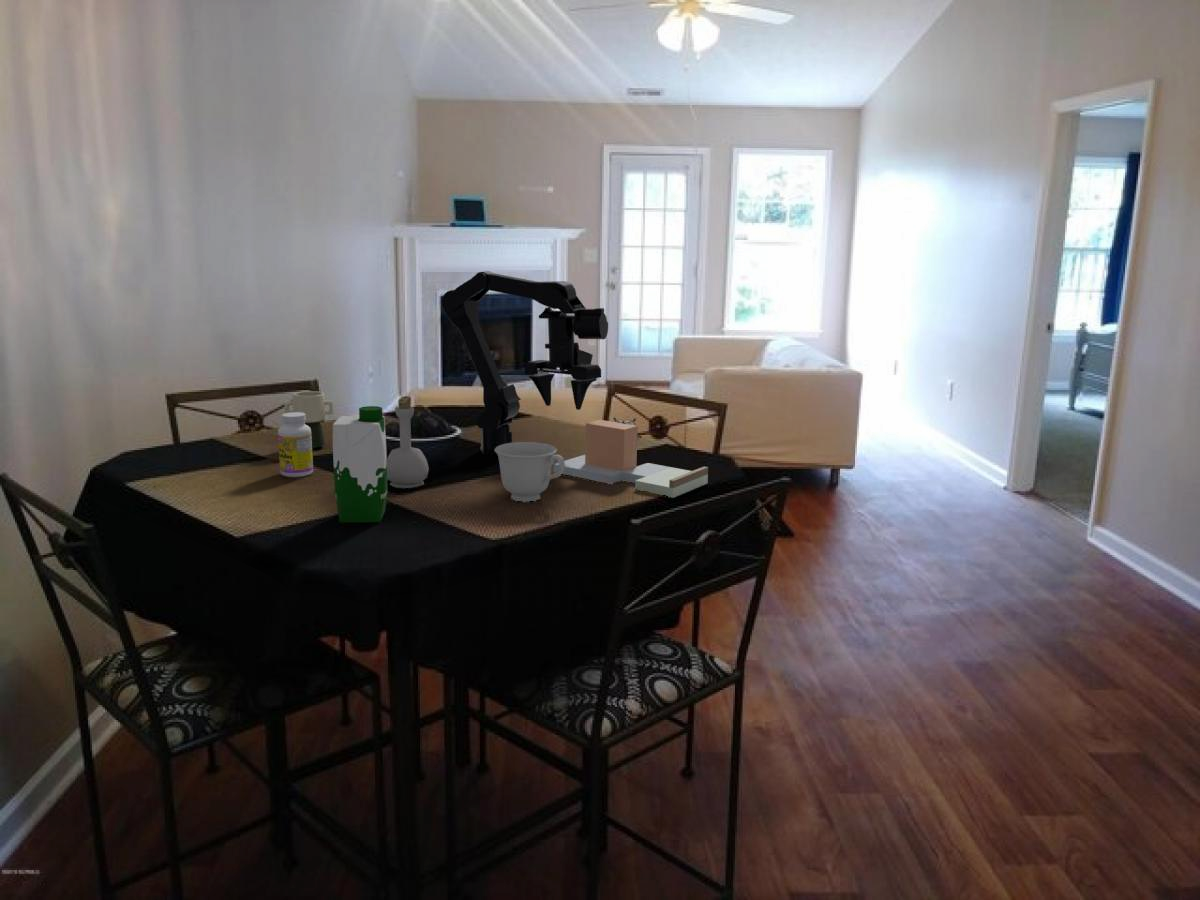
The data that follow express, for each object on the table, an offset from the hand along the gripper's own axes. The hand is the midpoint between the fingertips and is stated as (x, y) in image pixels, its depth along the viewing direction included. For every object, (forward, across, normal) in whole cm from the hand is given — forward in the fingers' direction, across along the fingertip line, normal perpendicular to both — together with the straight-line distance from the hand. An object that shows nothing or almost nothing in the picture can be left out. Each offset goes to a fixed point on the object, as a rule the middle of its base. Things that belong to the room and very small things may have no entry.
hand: (563, 407), depth 211 cm
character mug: (+10, +50, +34) cm, 61 cm away
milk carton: (+11, -3, +58) cm, 59 cm away
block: (+10, -16, +4) cm, 20 cm away
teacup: (+12, -18, +29) cm, 36 cm away
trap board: (+13, -21, +3) cm, 25 cm away
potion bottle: (+11, +9, +39) cm, 41 cm away
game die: (+13, -5, -15) cm, 21 cm away
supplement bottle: (+10, +31, +50) cm, 59 cm away
